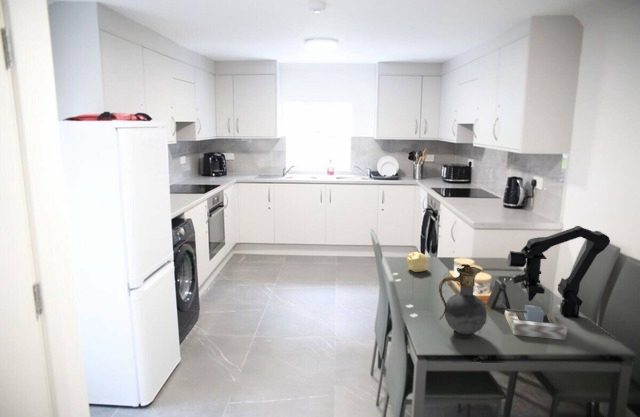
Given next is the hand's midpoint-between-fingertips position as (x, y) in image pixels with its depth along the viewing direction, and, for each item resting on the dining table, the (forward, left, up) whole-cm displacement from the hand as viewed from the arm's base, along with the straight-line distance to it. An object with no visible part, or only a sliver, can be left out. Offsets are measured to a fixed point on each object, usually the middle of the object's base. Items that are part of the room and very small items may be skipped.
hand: (529, 300), depth 193 cm
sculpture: (+49, -45, -5) cm, 67 cm away
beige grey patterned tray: (+2, +15, -5) cm, 16 cm away
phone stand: (+12, -3, -5) cm, 14 cm away
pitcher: (+32, +29, -5) cm, 44 cm away
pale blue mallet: (+4, +9, -5) cm, 11 cm away
